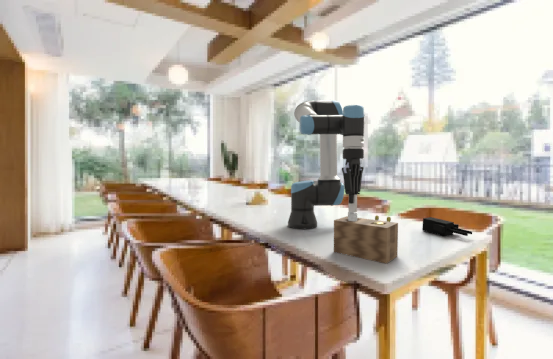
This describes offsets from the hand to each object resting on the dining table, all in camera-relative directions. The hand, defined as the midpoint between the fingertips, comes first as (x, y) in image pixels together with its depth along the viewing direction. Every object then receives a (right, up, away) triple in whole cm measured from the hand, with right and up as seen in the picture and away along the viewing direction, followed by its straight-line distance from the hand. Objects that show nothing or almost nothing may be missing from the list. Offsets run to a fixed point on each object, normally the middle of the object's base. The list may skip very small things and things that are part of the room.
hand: (352, 211), depth 115 cm
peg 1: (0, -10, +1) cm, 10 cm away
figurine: (+19, -13, +34) cm, 41 cm away
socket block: (+4, -15, -2) cm, 16 cm away
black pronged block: (+49, -13, +25) cm, 56 cm away
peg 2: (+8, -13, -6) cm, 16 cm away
